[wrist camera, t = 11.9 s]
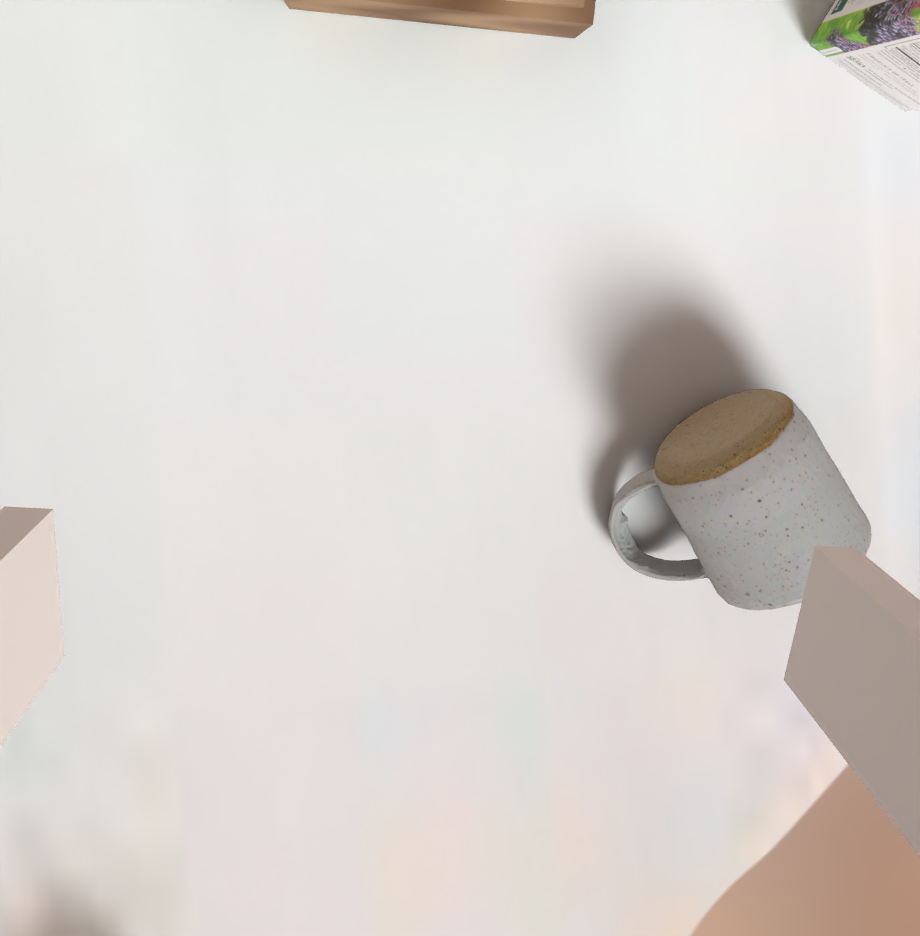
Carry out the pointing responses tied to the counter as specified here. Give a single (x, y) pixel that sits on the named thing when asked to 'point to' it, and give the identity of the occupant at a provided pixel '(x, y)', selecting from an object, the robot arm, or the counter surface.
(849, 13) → the syrup box
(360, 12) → the walnut plinth
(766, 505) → the ceramic mug
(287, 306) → the counter surface
